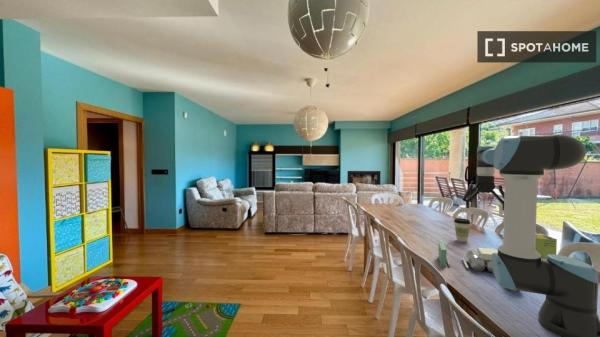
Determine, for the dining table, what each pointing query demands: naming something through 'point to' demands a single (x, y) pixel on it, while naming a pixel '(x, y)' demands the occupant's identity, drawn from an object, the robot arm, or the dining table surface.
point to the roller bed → (478, 262)
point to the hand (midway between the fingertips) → (484, 215)
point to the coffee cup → (462, 229)
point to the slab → (486, 253)
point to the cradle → (462, 260)
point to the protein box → (545, 245)
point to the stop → (442, 254)
